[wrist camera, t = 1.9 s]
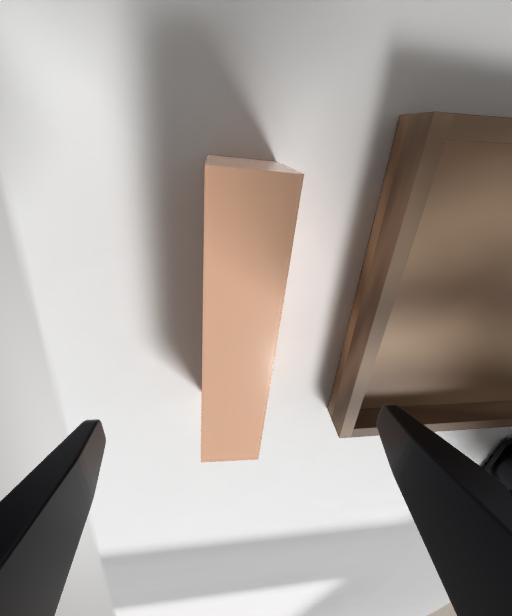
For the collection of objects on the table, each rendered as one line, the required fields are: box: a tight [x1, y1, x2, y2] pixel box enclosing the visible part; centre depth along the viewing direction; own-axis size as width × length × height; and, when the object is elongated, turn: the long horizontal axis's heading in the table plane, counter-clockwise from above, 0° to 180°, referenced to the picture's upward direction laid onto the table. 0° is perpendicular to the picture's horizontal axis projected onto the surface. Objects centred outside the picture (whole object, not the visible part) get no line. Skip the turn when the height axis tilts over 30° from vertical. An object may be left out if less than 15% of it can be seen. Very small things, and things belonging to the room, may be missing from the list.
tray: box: [328, 112, 512, 438], centre depth 18 cm, size 18×18×2 cm
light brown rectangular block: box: [201, 155, 304, 462], centre depth 15 cm, size 14×3×5 cm, turn 174°
